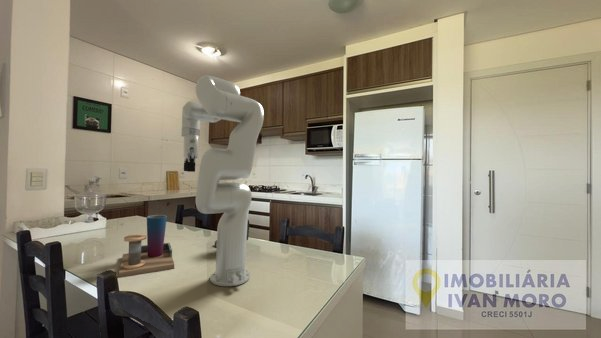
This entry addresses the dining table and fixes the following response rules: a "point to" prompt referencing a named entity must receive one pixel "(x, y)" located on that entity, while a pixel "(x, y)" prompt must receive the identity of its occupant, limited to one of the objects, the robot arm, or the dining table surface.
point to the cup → (155, 234)
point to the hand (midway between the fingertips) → (189, 171)
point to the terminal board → (144, 258)
